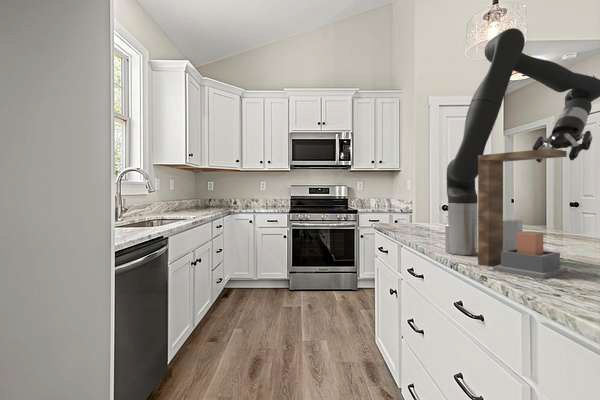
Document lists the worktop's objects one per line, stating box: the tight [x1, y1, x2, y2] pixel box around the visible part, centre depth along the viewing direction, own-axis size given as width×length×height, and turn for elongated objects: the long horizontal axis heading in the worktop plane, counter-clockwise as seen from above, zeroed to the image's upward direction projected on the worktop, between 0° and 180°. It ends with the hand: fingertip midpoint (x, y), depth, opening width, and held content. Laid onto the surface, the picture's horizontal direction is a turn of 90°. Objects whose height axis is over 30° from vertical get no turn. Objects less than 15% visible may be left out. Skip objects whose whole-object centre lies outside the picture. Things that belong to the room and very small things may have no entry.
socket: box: [492, 248, 568, 280], centre depth 94 cm, size 12×14×5 cm
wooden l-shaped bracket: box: [477, 148, 568, 267], centre depth 97 cm, size 18×10×32 cm, turn 34°
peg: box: [517, 231, 544, 256], centre depth 94 cm, size 4×4×9 cm
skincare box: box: [503, 219, 523, 251], centre depth 113 cm, size 6×4×12 cm
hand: (554, 159), depth 106 cm, fingers open, 8 cm apart
